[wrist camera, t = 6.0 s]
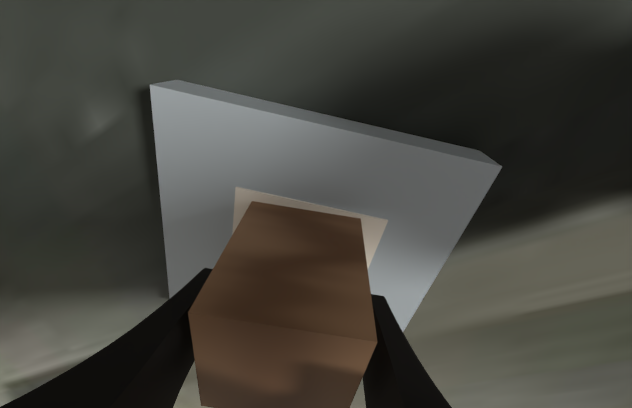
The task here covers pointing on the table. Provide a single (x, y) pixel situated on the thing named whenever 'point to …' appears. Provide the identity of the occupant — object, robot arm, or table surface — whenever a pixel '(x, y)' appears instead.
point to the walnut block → (285, 313)
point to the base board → (310, 184)
